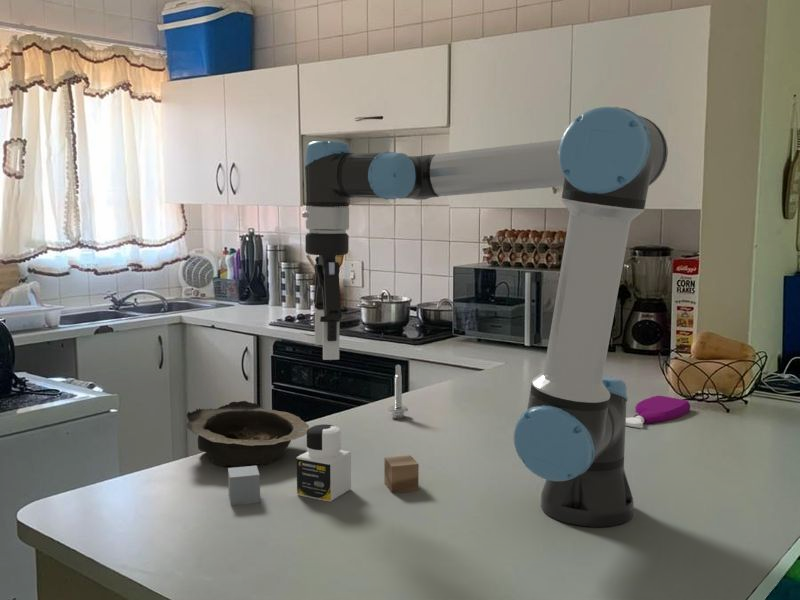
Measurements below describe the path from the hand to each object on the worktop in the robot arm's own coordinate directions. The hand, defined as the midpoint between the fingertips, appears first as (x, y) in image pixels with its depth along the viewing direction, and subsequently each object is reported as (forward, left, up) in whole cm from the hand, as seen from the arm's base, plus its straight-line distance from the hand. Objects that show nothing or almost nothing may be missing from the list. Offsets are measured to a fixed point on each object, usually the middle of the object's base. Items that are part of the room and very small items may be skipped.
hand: (326, 351), depth 140 cm
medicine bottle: (-2, +1, -25) cm, 25 cm away
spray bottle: (+26, -85, -26) cm, 92 cm away
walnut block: (-3, -13, -25) cm, 28 cm away
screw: (+42, -25, -25) cm, 55 cm away
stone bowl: (+23, +12, -25) cm, 36 cm away
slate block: (-1, +15, -25) cm, 29 cm away
